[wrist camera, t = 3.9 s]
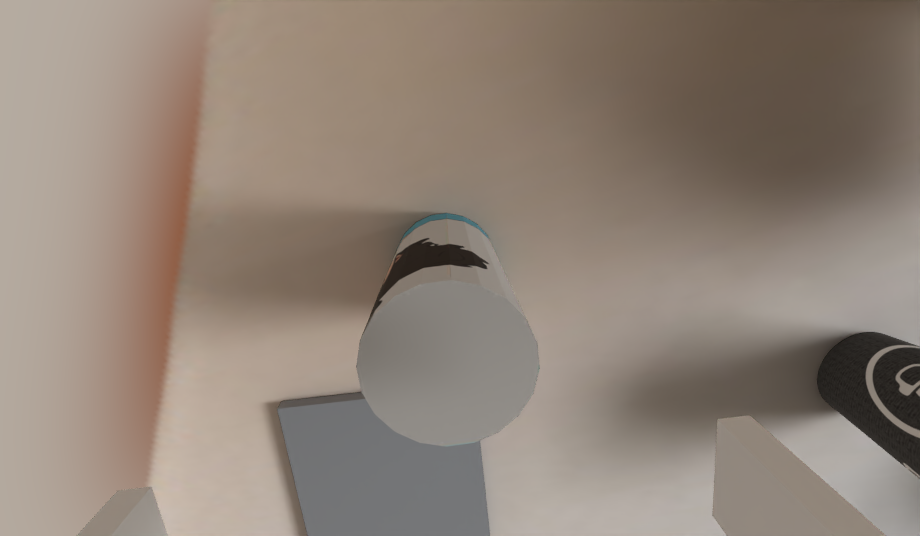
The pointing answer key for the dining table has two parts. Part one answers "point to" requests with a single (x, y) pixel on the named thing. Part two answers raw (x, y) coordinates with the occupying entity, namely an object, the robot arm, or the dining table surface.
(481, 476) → the coaster
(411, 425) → the white printed cylinder
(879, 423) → the coffee cup
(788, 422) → the dining table surface
